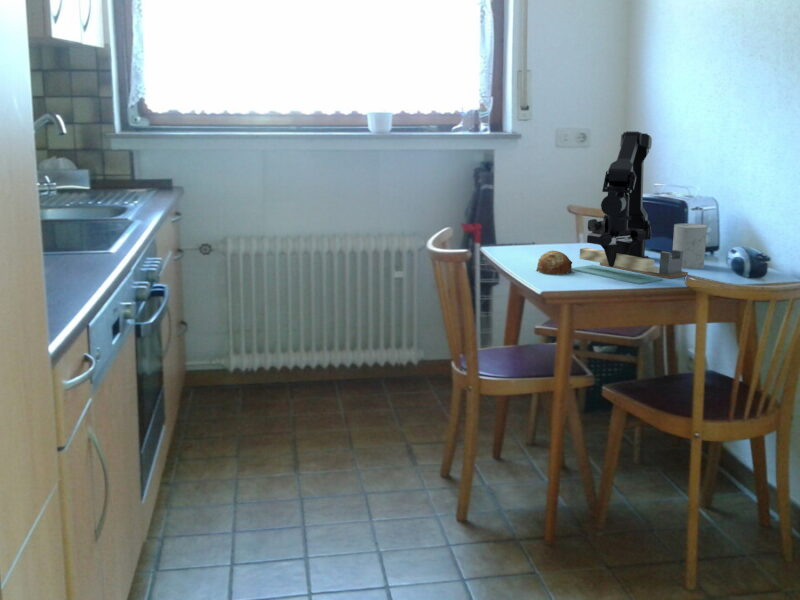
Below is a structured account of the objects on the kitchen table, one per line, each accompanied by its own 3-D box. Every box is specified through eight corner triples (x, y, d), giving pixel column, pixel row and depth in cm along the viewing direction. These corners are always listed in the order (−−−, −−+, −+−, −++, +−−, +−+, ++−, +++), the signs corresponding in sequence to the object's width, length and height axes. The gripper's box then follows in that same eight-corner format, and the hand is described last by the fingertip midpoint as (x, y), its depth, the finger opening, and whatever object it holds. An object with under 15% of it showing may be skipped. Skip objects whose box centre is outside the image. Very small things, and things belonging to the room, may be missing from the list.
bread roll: (538, 280, 264) (528, 256, 262) (569, 265, 264) (559, 241, 262) (546, 287, 255) (536, 262, 253) (579, 271, 254) (568, 247, 253)
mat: (592, 266, 267) (592, 264, 267) (662, 280, 246) (662, 278, 246) (569, 269, 261) (569, 268, 261) (638, 284, 240) (638, 282, 240)
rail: (579, 258, 262) (580, 248, 262) (586, 257, 264) (587, 247, 263) (646, 271, 242) (647, 261, 242) (653, 270, 244) (654, 260, 243)
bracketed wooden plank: (599, 265, 269) (600, 242, 267) (617, 262, 273) (618, 239, 271) (669, 278, 248) (671, 254, 246) (687, 275, 252) (689, 251, 251)
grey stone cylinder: (706, 264, 270) (709, 224, 267) (702, 269, 261) (705, 228, 259) (673, 262, 274) (676, 222, 271) (668, 267, 265) (671, 226, 263)
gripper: (618, 206, 261) (615, 258, 265) (573, 211, 251) (571, 265, 254) (648, 210, 252) (645, 264, 256) (603, 215, 242) (600, 271, 245)
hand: (615, 266), depth 253 cm, fingers closed on rail, 3 cm apart
